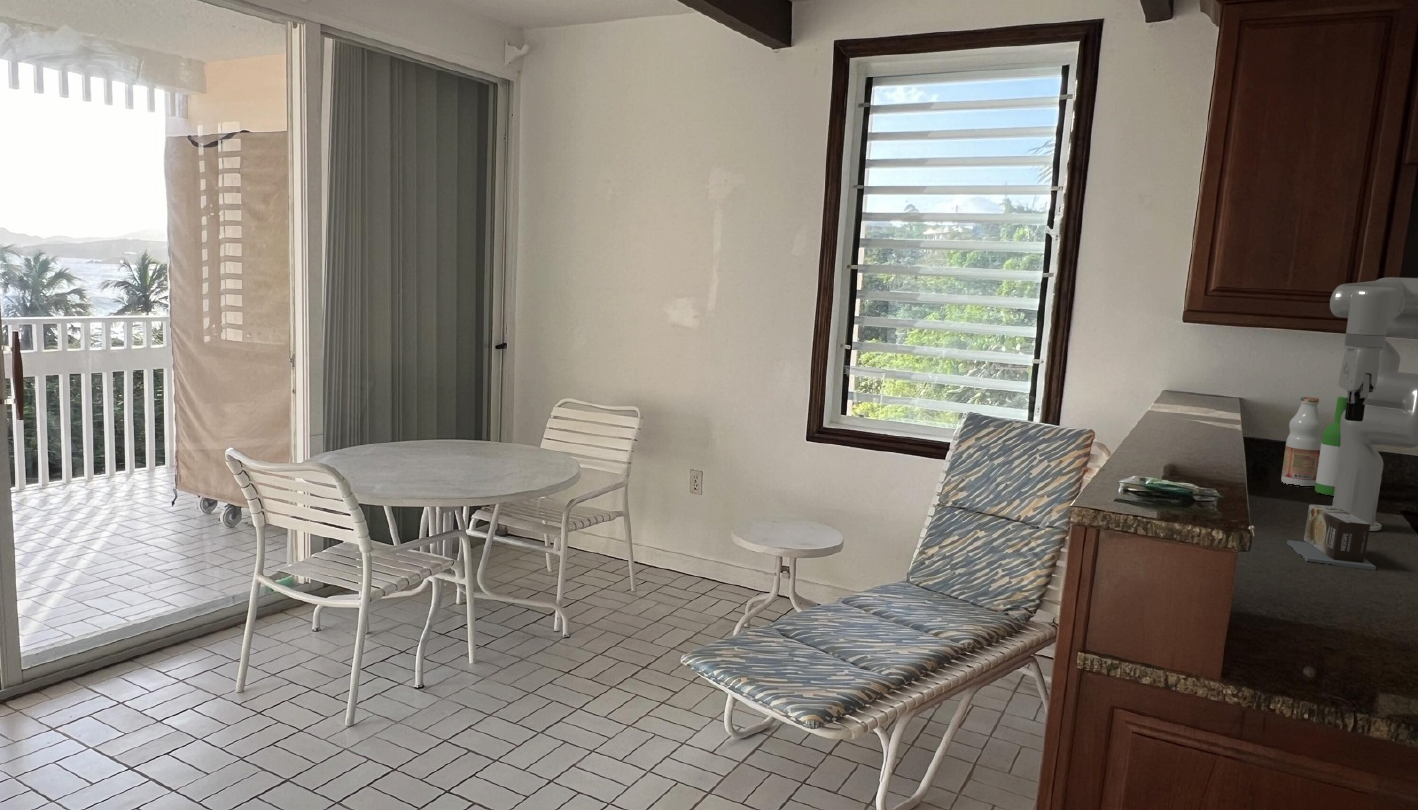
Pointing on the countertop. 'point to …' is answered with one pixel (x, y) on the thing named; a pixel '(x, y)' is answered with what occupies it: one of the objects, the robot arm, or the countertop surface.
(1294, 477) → the fruit juice
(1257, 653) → the countertop surface
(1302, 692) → the countertop surface
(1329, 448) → the wine bottle
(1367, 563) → the rubber mat
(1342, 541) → the coffee box
